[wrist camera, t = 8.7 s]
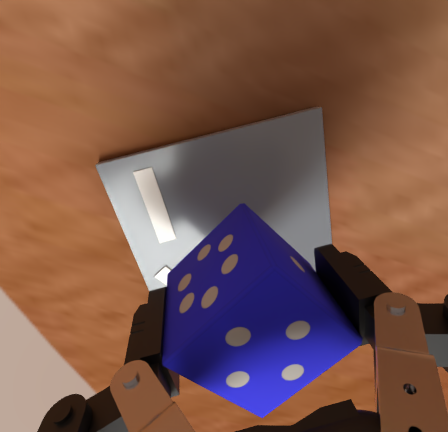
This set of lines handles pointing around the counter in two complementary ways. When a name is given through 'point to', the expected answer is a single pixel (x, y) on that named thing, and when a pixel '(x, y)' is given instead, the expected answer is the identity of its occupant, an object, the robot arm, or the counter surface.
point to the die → (251, 316)
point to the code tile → (222, 189)
